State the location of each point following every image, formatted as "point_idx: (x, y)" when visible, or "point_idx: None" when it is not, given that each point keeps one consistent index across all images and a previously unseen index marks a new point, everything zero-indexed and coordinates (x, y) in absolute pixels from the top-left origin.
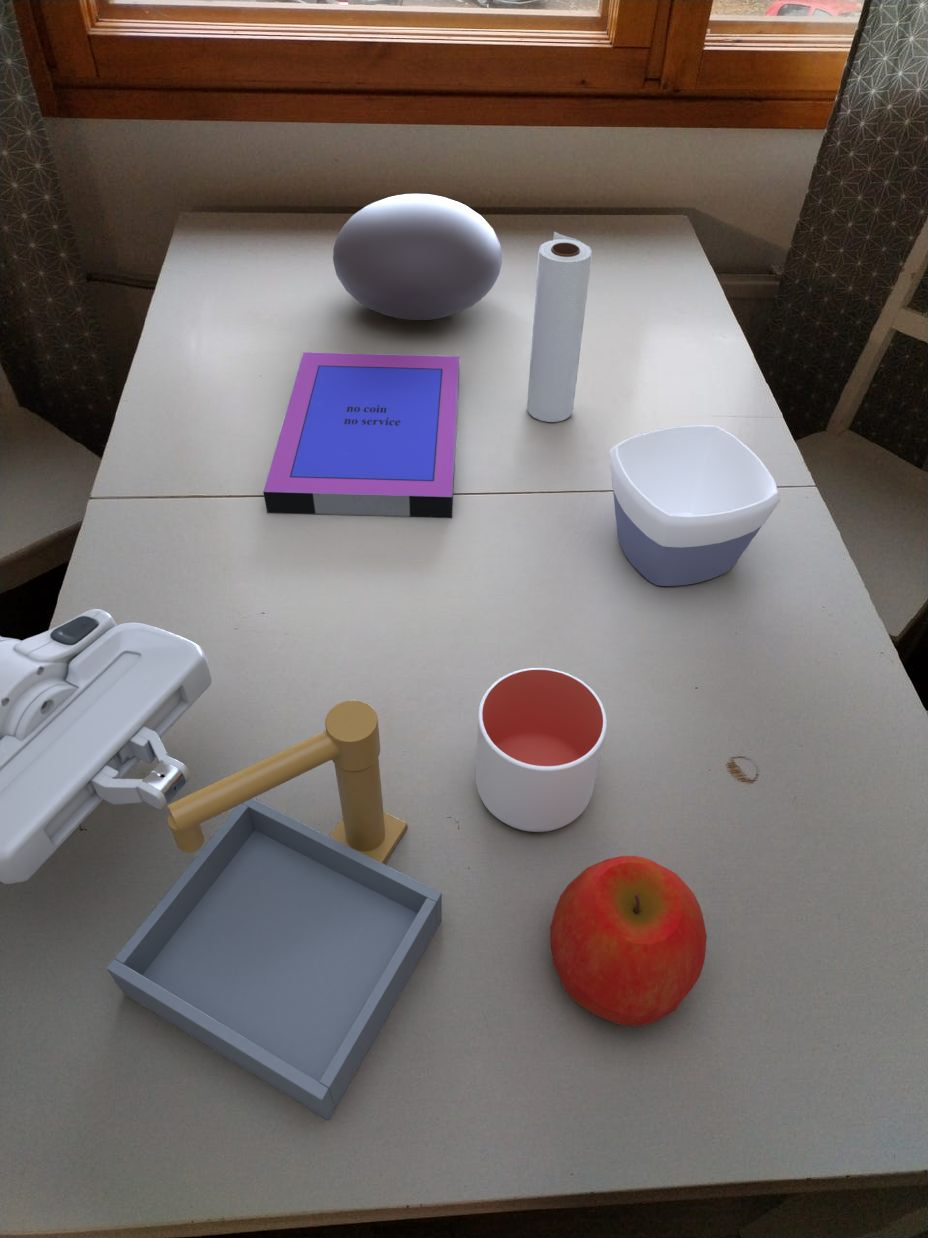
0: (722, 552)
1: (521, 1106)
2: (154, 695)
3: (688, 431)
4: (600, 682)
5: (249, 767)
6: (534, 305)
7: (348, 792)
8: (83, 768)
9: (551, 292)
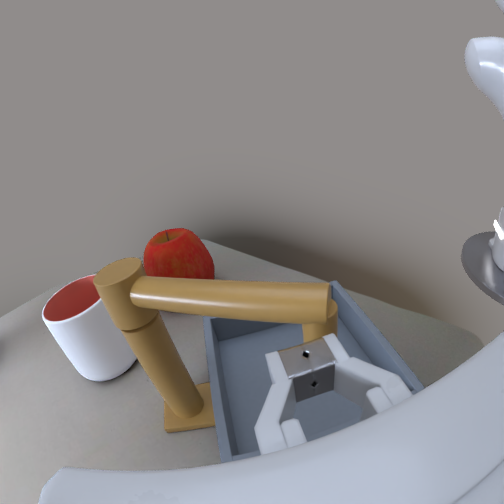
0: None
1: (264, 281)
2: (185, 480)
3: None
4: (42, 363)
5: (212, 292)
6: None
7: (171, 340)
8: (426, 399)
9: None
